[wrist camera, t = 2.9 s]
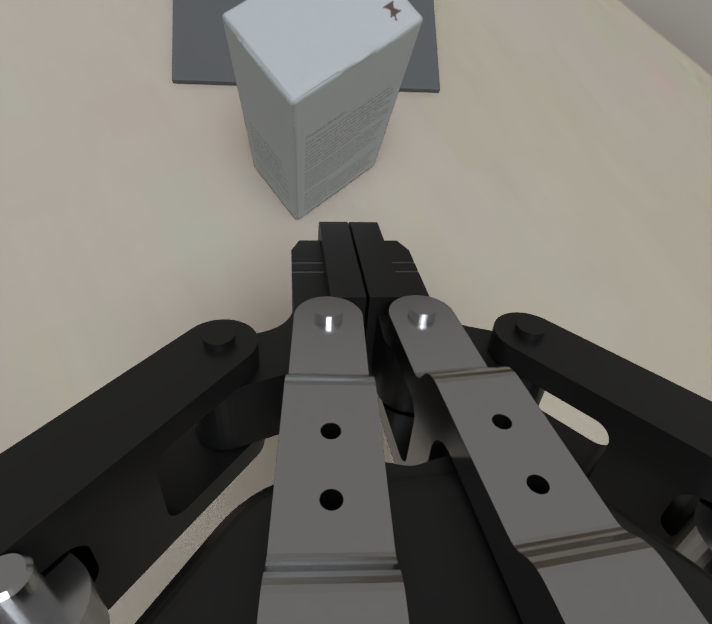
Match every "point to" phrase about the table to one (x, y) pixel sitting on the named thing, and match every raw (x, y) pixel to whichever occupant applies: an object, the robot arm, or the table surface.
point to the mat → (213, 61)
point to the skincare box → (318, 87)
